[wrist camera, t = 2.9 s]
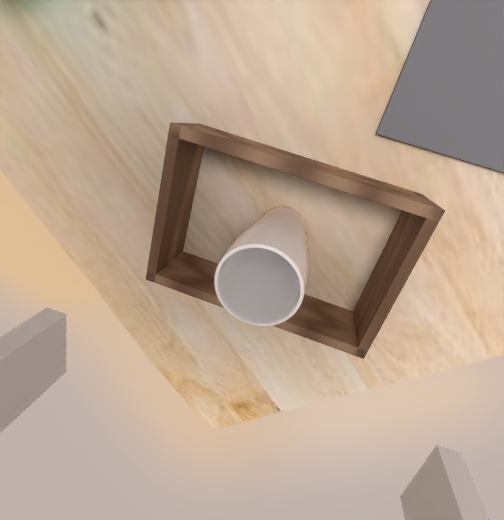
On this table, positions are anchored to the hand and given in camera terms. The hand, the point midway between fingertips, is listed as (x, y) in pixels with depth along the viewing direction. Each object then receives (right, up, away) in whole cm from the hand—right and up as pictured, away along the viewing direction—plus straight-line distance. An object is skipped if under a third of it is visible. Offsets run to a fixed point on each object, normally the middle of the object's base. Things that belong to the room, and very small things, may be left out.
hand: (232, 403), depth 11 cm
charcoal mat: (+21, +21, +17) cm, 34 cm away
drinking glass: (+4, +9, +26) cm, 27 cm away
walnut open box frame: (+4, +9, +26) cm, 27 cm away
